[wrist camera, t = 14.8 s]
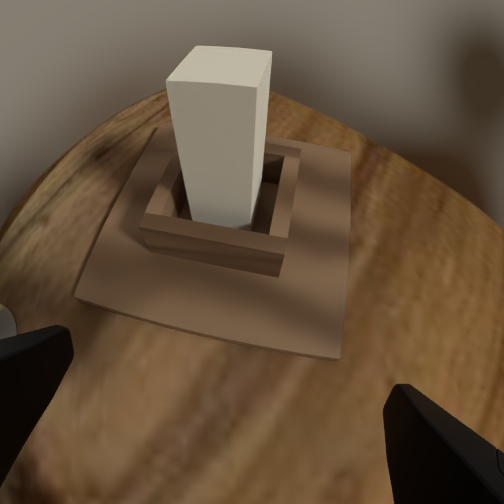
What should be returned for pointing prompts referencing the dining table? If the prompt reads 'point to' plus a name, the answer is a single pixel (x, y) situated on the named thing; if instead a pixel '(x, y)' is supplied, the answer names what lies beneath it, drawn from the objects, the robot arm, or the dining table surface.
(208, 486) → the dining table surface
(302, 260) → the leg socket
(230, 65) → the stool leg
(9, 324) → the lotion bottle
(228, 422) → the dining table surface
